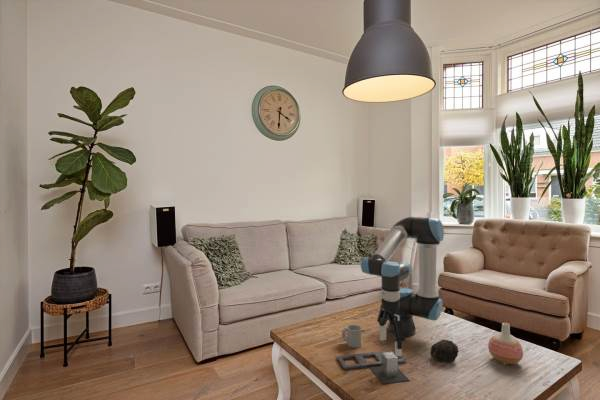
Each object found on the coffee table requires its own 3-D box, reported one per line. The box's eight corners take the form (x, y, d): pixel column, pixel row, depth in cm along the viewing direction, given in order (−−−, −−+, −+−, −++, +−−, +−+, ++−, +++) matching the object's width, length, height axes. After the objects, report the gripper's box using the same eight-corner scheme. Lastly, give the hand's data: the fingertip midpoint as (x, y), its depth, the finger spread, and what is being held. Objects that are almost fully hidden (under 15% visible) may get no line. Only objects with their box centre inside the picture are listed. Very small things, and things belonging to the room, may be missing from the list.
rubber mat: (395, 365, 146) (395, 364, 146) (409, 380, 135) (409, 379, 135) (370, 368, 144) (370, 367, 144) (382, 384, 132) (382, 383, 132)
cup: (360, 349, 161) (360, 331, 161) (340, 346, 165) (340, 328, 164) (362, 342, 168) (362, 325, 168) (343, 339, 171) (343, 323, 171)
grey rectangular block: (391, 369, 142) (392, 351, 142) (397, 376, 137) (397, 357, 137) (381, 371, 141) (381, 352, 141) (386, 377, 136) (386, 358, 136)
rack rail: (395, 352, 159) (395, 349, 158) (405, 363, 149) (405, 360, 149) (336, 358, 152) (336, 356, 152) (343, 370, 142) (344, 367, 142)
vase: (511, 372, 142) (512, 332, 141) (481, 358, 154) (482, 321, 153) (529, 365, 148) (530, 326, 147) (498, 351, 160) (499, 316, 159)
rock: (425, 355, 154) (429, 335, 154) (442, 353, 159) (446, 334, 158) (441, 367, 145) (446, 346, 144) (459, 366, 150) (464, 345, 149)
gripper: (369, 290, 150) (369, 335, 151) (397, 310, 125) (397, 364, 127) (384, 288, 151) (384, 333, 152) (414, 309, 127) (414, 361, 128)
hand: (390, 347), depth 139 cm, fingers open, 13 cm apart
